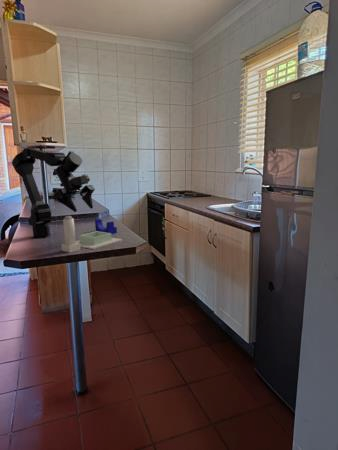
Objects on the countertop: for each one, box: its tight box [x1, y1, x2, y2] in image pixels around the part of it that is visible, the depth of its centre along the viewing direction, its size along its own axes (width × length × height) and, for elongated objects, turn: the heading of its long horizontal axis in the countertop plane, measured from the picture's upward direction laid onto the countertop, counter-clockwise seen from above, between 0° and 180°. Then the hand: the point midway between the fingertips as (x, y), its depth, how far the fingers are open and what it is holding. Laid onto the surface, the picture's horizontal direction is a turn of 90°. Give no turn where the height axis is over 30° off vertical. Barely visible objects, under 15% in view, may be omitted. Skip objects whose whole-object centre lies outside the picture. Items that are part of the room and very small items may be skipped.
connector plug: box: [61, 215, 81, 253], centre depth 120 cm, size 5×5×14 cm
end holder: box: [76, 230, 123, 250], centre depth 131 cm, size 16×16×4 cm
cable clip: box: [94, 218, 118, 235], centre depth 151 cm, size 12×4×6 cm, turn 45°
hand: (84, 209), depth 127 cm, fingers open, 9 cm apart
